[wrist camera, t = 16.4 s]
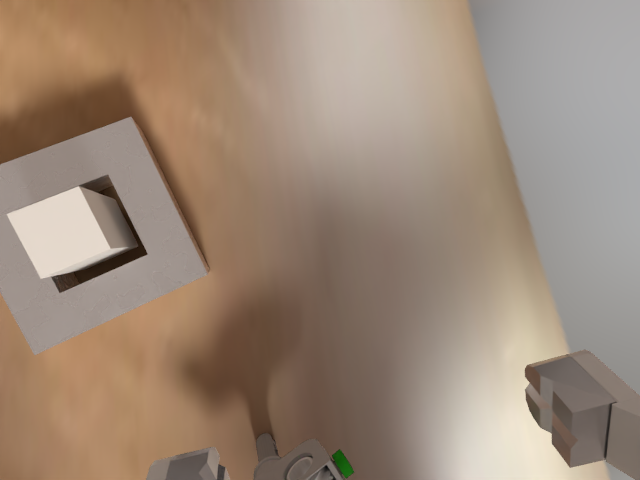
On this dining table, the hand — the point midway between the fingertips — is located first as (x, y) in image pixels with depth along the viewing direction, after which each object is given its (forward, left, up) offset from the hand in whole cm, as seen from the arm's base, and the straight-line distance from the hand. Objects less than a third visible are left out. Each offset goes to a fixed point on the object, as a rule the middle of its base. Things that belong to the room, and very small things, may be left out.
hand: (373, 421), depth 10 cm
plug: (+10, +10, -24) cm, 28 cm away
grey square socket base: (+10, +10, -24) cm, 28 cm away
